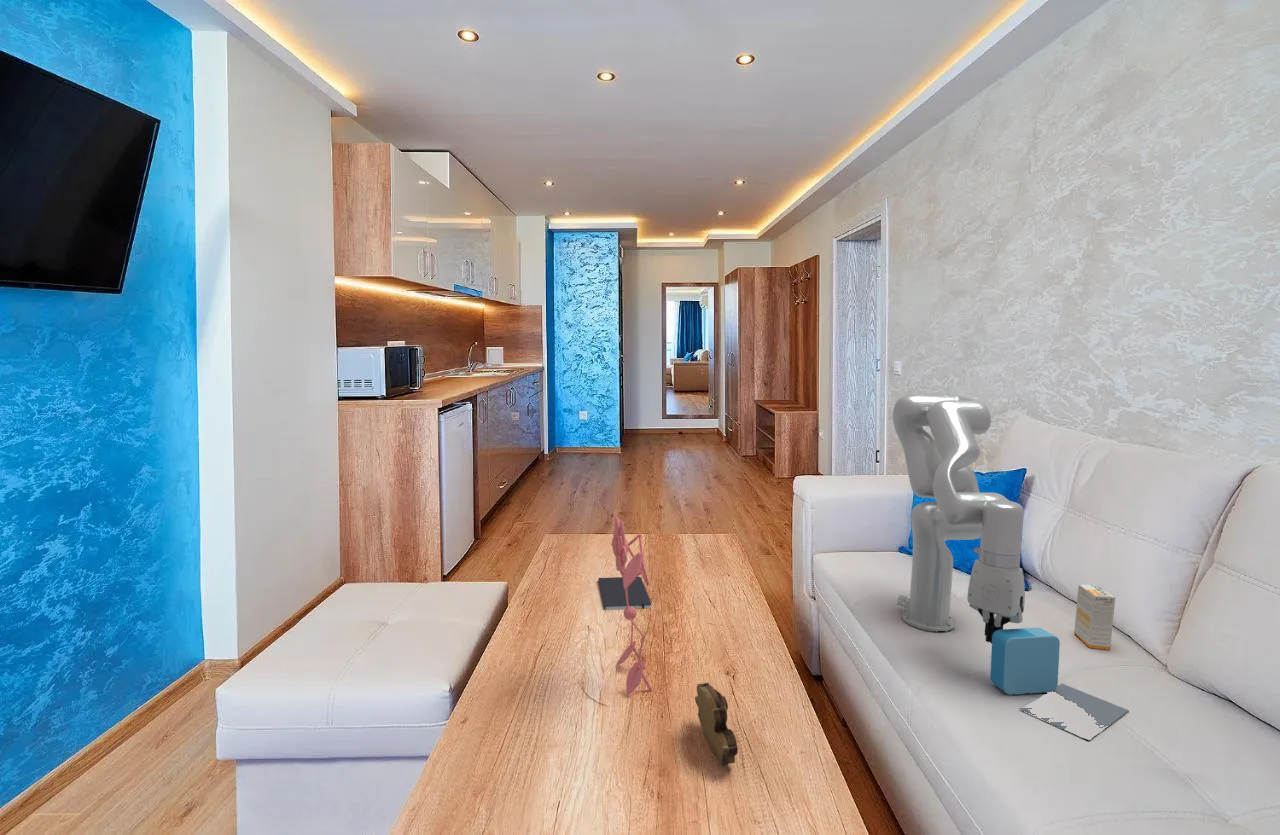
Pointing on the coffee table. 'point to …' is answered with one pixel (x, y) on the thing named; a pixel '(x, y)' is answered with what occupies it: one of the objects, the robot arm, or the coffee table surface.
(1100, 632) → the supplement box
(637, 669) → the pink leafy sprig
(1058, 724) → the mat
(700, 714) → the wooden carving
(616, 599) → the notebook
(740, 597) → the coffee table surface
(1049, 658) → the data package
